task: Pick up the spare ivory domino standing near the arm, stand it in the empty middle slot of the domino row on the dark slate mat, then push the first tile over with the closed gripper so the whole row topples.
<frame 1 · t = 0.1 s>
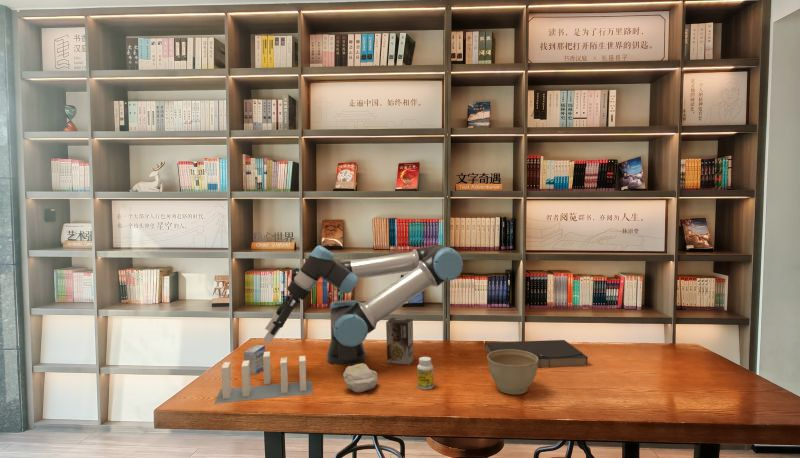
hand: (267, 335, 167), 15 cm above the table, tool tilted 35°, fingers open, 13 cm apart
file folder: (533, 358, 186), on the table
fossil replica: (361, 390, 157), on the table
domino 4: (246, 393, 154), resting on mat
domino 2: (284, 389, 157), resting on mat
medicine box: (255, 371, 175), on the table
planter bowl: (512, 389, 155), on the table
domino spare: (267, 382, 164), on the table
domino 1: (303, 387, 158), resting on mat
supplement bottle: (425, 387, 158), on the table
domino 5: (227, 395, 153), resting on mat
coffee box: (400, 361, 183), on the table
mat: (265, 392, 155), on the table
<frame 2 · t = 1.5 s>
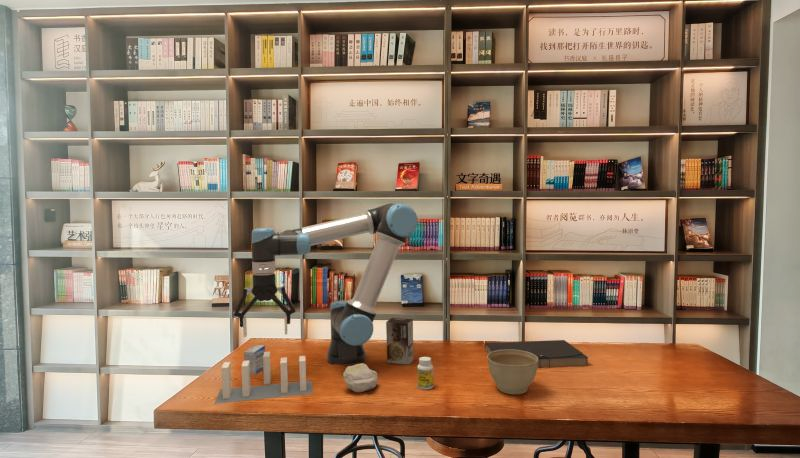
hand: (265, 334, 163), 17 cm above the table, tool pointing down, fingers open, 13 cm apart
nothing on the table moved.
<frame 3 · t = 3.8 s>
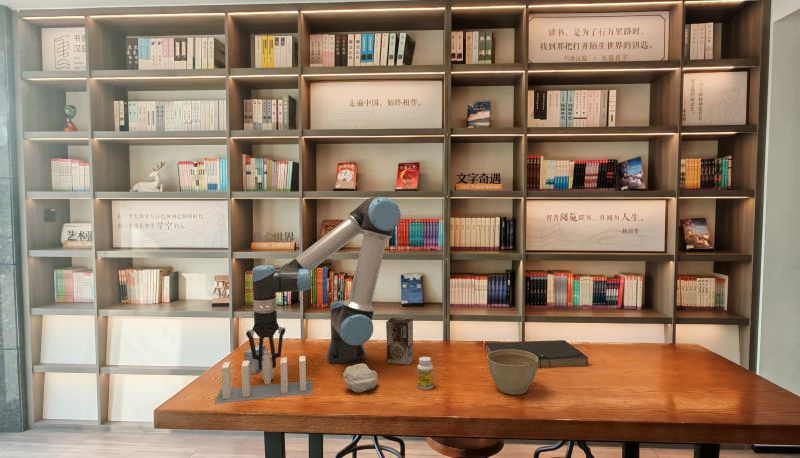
hand: (267, 377, 164), 2 cm above the table, tool pointing down, fingers closed on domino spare, 2 cm apart
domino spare: (268, 381, 164), on the table, touching gripper
everything else where it was.
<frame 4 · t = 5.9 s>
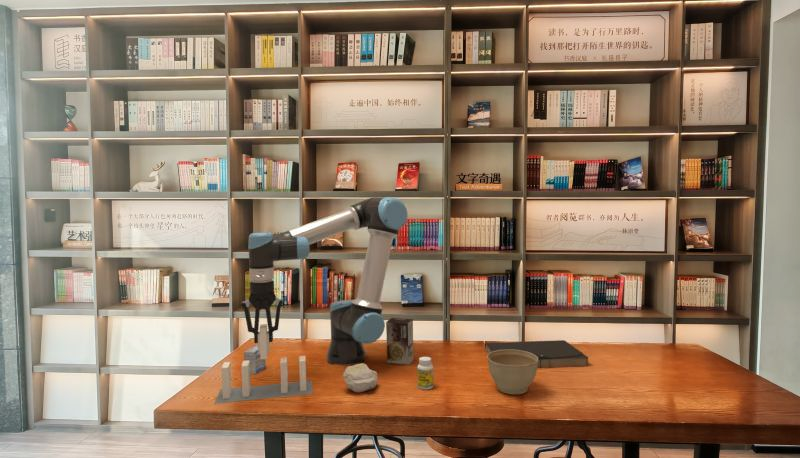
hand: (264, 352, 154), 14 cm above the table, tool pointing down, fingers closed on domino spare, 2 cm apart
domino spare: (264, 356, 154), point 12 cm above the table, touching gripper
everything else where it was.
when the fingers open (3 cm above the table, at t = 8.1 s): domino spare drops 1 cm, resting on mat.
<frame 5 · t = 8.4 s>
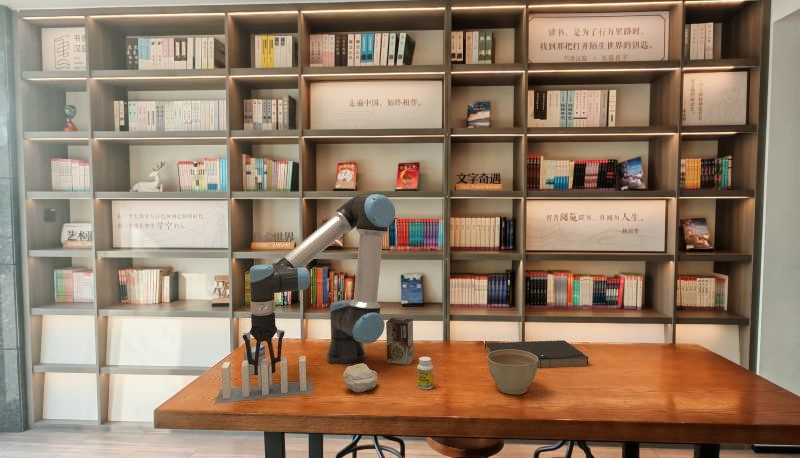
hand: (265, 383, 155), 3 cm above the table, tool pointing down, fingers open, 3 cm apart
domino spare: (265, 391, 155), resting on mat
everything else where it was.
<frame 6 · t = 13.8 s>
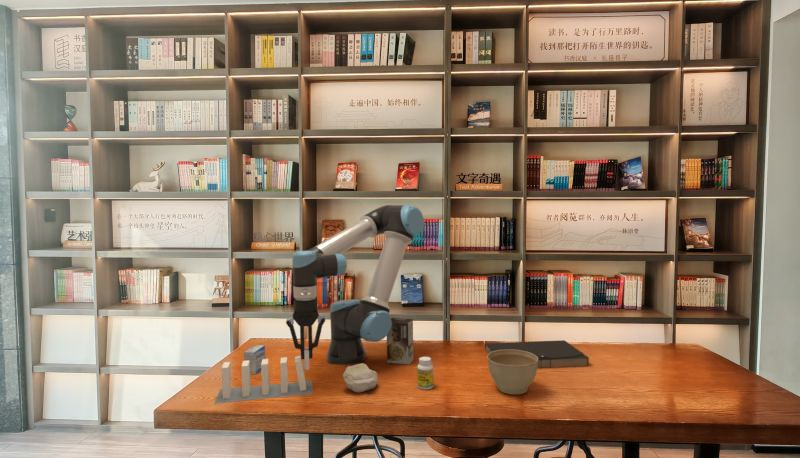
hand: (306, 368, 157), 7 cm above the table, tool pointing down, fingers closed
domino 1: (303, 387, 158), point 1 cm above the table, tilted 8°, touching mat
everything else where it was.
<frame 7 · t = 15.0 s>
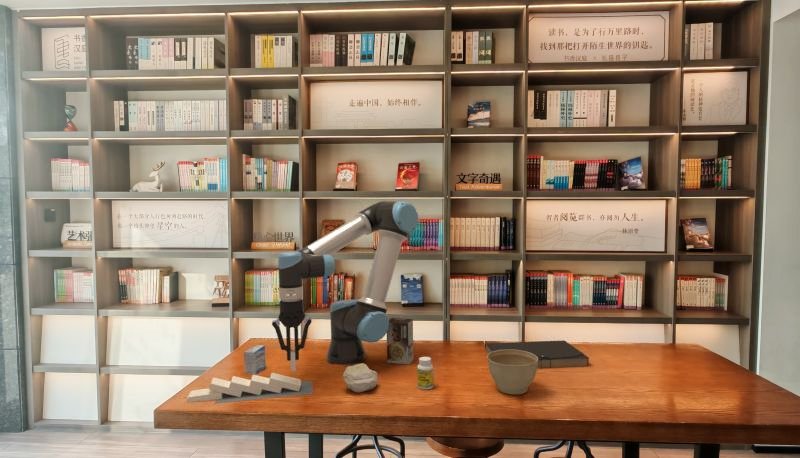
hand: (293, 369, 157), 7 cm above the table, tool pointing down, fingers closed
domino 4: (242, 390, 154), point 1 cm above the table, tilted 70°, touching domino 5, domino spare, mat
domino 2: (281, 387, 156), point 1 cm above the table, tilted 71°, touching domino 1, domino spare, mat
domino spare: (261, 389, 155), point 1 cm above the table, tilted 70°, touching domino 2, domino 4, mat
domino 1: (299, 385, 157), point 1 cm above the table, tilted 71°, touching domino 2, mat
domino 5: (222, 392, 152), point 1 cm above the table, tilted 93°, touching domino 4, mat
everything else where it was.
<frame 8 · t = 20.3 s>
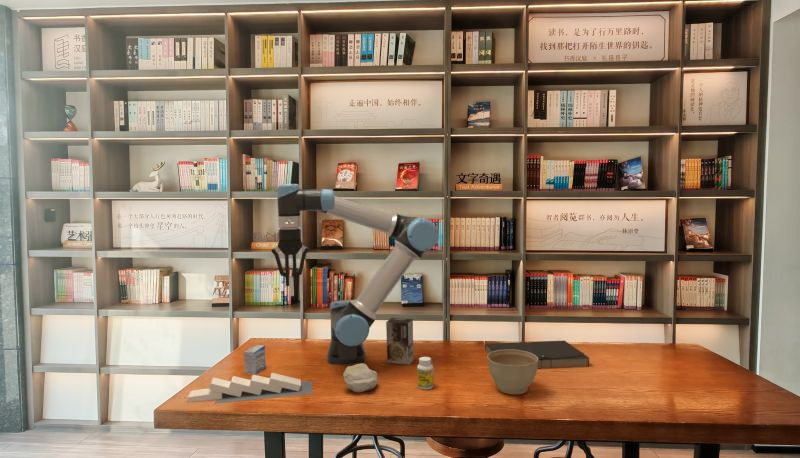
hand: (291, 295, 167), 29 cm above the table, tool pointing down, fingers closed
nothing on the table moved.
at the end: domino 5 tilted 93°; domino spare tilted 70°; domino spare inside the target area (0.7 cm from its centre), point 1.3 cm above the table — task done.
